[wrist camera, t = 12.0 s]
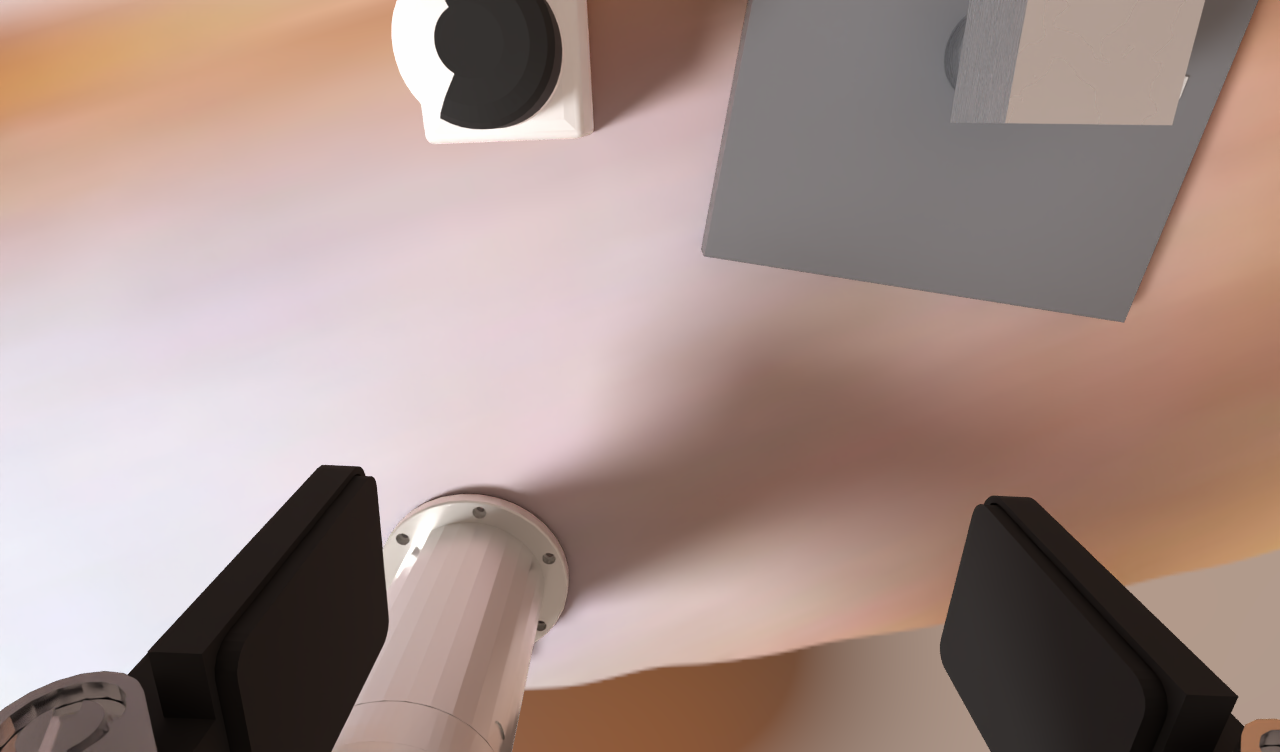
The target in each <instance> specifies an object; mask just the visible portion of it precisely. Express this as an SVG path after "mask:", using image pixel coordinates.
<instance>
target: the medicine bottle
mask: <svg viewBox="0 0 1280 752" xmlns="http://www.w3.org/2000/svg"><path fill="white" fill-rule="evenodd" d="M392 44H393V51H394V55H395V59H396V63H397V66H398V68H399V71H400V73H401V75H402V77H403V79H404V81H405V83H406V85H407V86H408V88H409V89H410V91H411V92H412V94H413V95H414V96H415V97H416V98H417V100H418V101H419V102H420V103H421V107H422V114H423V121H424V129H425V136H426V138H427V140H428V141H429V142H430V143H433V144H448V143H474V142H501V141H528V140H554V139H577V138H581V137H584V136H587V135H590V134H592V132H593V130H594V120H593V102H592V84H591V66H590V48H589V30H588V12H587V0H397V2H396V5H395V9H394V12H393V19H392Z"/></svg>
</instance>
